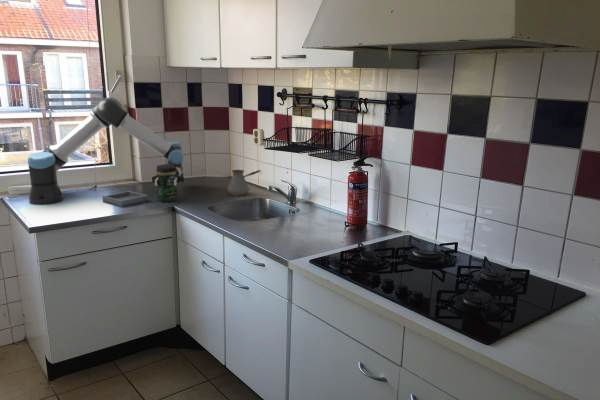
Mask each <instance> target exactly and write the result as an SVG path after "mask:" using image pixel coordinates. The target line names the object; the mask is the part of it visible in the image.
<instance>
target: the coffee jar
mask: <svg viewBox="0 0 600 400" xmlns="http://www.w3.org/2000/svg"><path fill="white" fill-rule="evenodd" d="M176 172H177V171H176V166H175V165H174V164H168V163H164V164H159V165H156V175H157V176H158V185H157V195H156V196H157V197H156V198H157V200H158V201H159V202H160V203H161V202H165V203H167V202H174V201H177V200H178V199H179V198H178V189H177V188H178V187H177V185H176V186H174V179H175V177H176Z"/></svg>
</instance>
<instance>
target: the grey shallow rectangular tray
mask: <svg viewBox="0 0 600 400" xmlns="http://www.w3.org/2000/svg"><path fill="white" fill-rule="evenodd" d="M148 201H149V197H148V195H147V194H143V193H140V192H135V191H131V190H126V191H122V192H117V193H112V194H108V195H103V196H102V203H105V204H107V205H110V206H114V207H115V206H116V207H118V208H125V207H128V206H134V205H137V204H141V203H146V202H148Z"/></svg>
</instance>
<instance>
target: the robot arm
mask: <svg viewBox="0 0 600 400" xmlns="http://www.w3.org/2000/svg"><path fill="white" fill-rule="evenodd" d="M110 126H113V127H114V128H116V129H121V130H123V131H124V132H126V133H128V134H129V135H130V136H132V138H135V139H136V140H138V141H139V142H141V143H143V144H144V145H145V146H147V147H148V148H150V149H152V150H153V151H154V152H156V153H157V154H159V155H161V157H163V158H165V159H166V160H167V164H174V165H175V166H176V171H177V172H176V177H175V179H174V186H176V187H177V184H178V183H184V182H185V180H184V179H185V175H184V174H185V173H183V172H184V171H183V170H184V166H183V160H184V153H183V152H182V146H181V145H182V143H181V142H179V141H169V142H168V141H166V139H164V138H162V137H161V136H159V135H158V134H156V133H155V132H154V131H153V130H150V129H149V128H148V127H147V126H144V125H143V124H142V123H140V122H139V121H137V120H136V119H135V118H133V117H131V116H130V114H129V112H127V111H126V110H125V108H123V105H122V104H121V101H119V100H118V99H116V98H114V97H105V98H103V99H102V100H101V101H100V102H99V103H97V105H95V106H94V107H93V108H92V109H91V110H90V115H88V116H87V117H86V118H85V119H83V120H82V121H81V122H80V123H79V124H78V125H77V126H76V127H74V128H73V129H72V130H71V131H70V132H69V133H67V134H66V135H65V136H64V137H62V138H61V140H59V141H58V142H57V143H55V144H50V145H49V146H47V147H46V148H45V149H44V150H43V151H39V152H34V153H31V154H29V156H28V157H27V164H28V172H29V179H30V191H29V194H28V202H29V203H30V204H32V205H49V204H54V203H58V202H62V201H63V200H64V195H63V192H62V190H61V188H60V185H59V184H58V174H57V172H58V171H59V170H60V169H61V168H63V166H65V165H66V164H67V163H68V162H69V157H70V156H71V155H72V154H74V153H75V152H76V151H77V150H78V149H80V148H81V147H82V146H83V145H84V144H85V143H87V141H89V140H90V139H91V138H92V137H94V136H95V135H96V134H97V133H98V132H99V131H100V130H102V129H103V128H109V127H110ZM151 182H152V183H153V184H154V185H155V186H156V187H158V176H157V174H156V175H154V176H152V177H151ZM155 186H154V187H155Z"/></svg>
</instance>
